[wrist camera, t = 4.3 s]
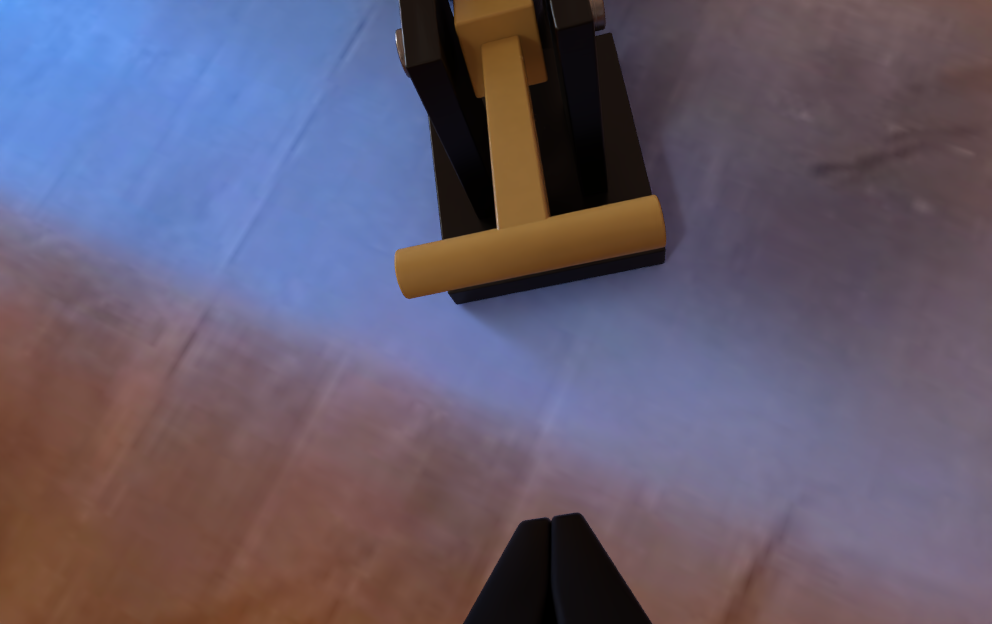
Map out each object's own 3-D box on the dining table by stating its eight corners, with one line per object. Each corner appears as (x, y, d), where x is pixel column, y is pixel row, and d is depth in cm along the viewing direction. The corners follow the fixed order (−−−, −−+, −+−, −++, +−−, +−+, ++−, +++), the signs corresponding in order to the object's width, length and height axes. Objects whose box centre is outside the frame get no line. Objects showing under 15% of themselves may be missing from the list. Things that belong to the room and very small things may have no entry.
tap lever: (668, 278, 14) (664, 194, 12) (419, 327, 15) (381, 255, 13) (590, 20, 21) (580, -59, 19) (423, 62, 22) (398, -9, 20)
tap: (664, 264, 25) (680, 95, 15) (456, 305, 26) (356, 170, 17) (612, 52, 28) (600, -185, 19) (431, 96, 29) (339, -108, 20)
